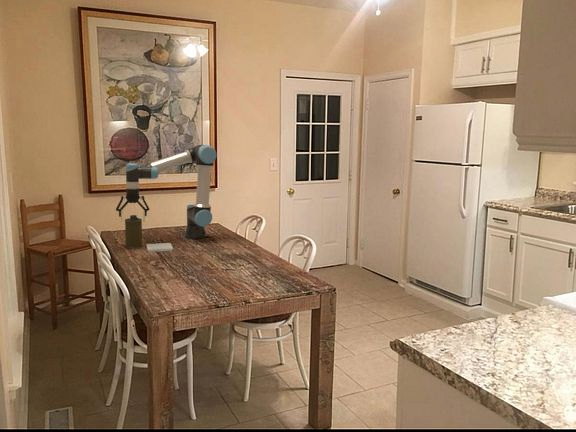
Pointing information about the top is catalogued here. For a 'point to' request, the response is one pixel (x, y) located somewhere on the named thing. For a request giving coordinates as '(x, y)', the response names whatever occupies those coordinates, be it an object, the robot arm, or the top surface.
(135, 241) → the canister
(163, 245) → the trivet
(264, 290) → the top surface
